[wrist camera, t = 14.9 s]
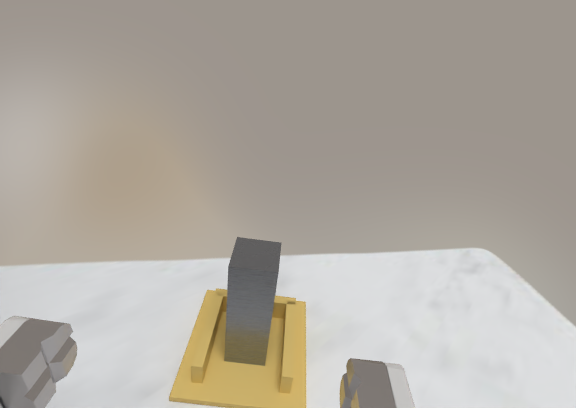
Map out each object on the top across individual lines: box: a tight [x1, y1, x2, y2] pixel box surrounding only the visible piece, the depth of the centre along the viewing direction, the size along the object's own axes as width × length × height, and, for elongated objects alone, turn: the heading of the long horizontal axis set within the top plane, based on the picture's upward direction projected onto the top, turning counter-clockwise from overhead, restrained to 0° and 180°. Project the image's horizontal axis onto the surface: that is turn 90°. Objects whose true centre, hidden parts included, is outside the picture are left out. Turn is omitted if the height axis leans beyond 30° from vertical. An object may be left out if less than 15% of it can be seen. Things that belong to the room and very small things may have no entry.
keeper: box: [169, 289, 306, 408], centre depth 33 cm, size 12×13×9 cm
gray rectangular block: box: [224, 237, 281, 366], centre depth 31 cm, size 4×4×12 cm
